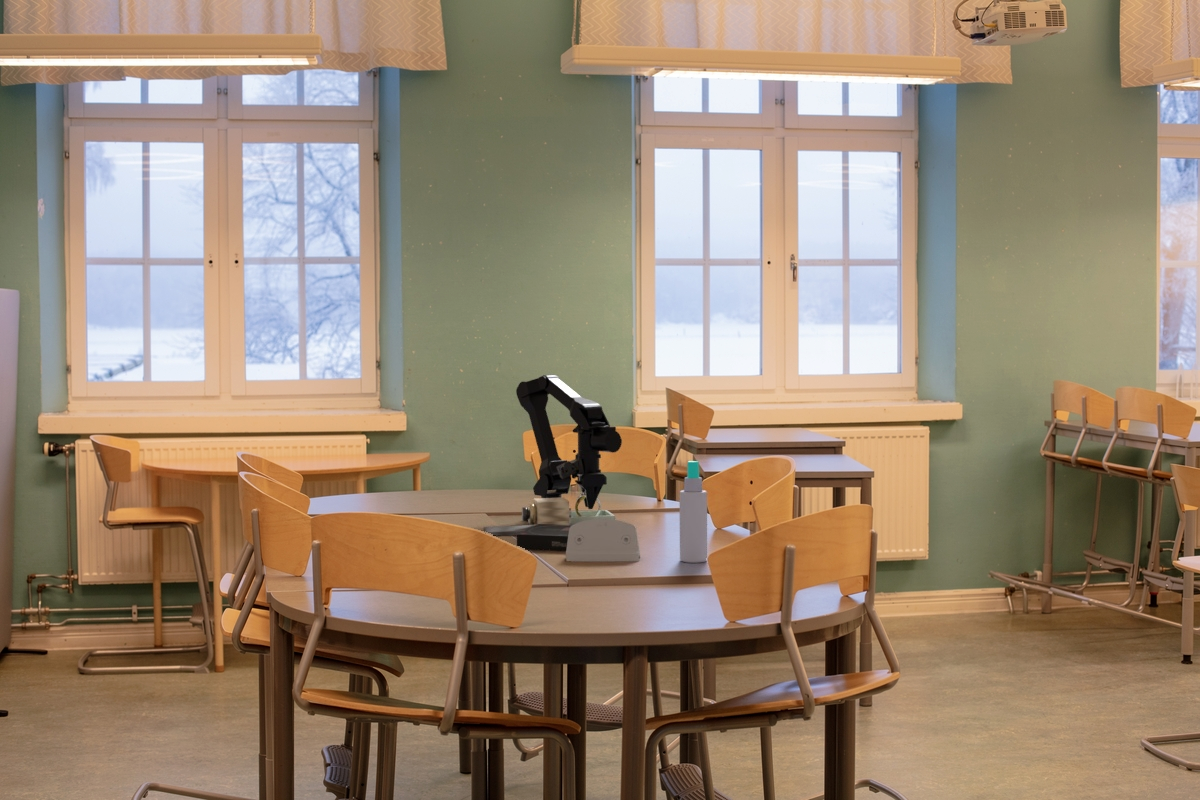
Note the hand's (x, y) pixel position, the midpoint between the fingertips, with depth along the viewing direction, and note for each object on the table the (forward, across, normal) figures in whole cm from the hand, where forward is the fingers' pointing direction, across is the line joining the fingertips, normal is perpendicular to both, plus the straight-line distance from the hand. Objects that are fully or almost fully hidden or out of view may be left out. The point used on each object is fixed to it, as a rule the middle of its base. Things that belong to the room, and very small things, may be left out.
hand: (588, 508), depth 317 cm
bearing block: (+4, +11, -16) cm, 20 cm away
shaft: (+2, +11, -13) cm, 17 cm away
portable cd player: (+5, +32, -13) cm, 35 cm away
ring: (+4, 0, 0) cm, 4 cm away
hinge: (+4, +52, -7) cm, 53 cm away
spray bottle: (+4, +60, +12) cm, 61 cm away
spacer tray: (+4, 0, 0) cm, 4 cm away
